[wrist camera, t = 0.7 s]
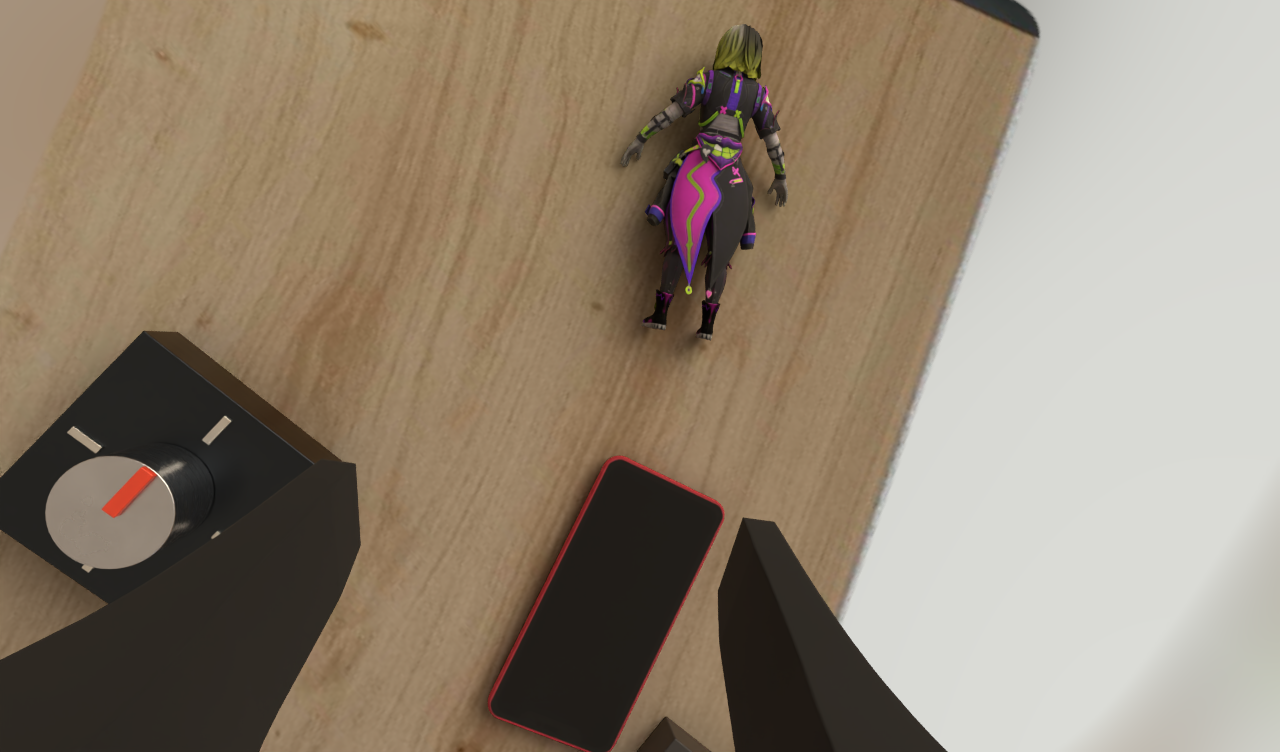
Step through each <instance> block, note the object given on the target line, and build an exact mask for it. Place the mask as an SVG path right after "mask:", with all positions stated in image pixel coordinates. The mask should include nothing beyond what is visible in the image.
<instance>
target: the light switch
mask: <svg viewBox="0 0 1280 752" xmlns="http://www.w3.org/2000/svg"><path fill="white" fill-rule="evenodd" d="M637 752H711V751H710V750H708V749H707V748H706V747H705V746H703V745H702V744H701V743H699V742H698V741H697V740H696V739H694V738H693V737H692V736H691V735H689V734H688V733H687V732H685V731H684V730H683V729H682V728H680V727H679V726H678V725H677V724H675V723H674V722H673V721H671V720H670V719H669V718H668V717H665V718H664V719H663V721H662V722H661V723H660V724H659V725H658V727H657V728H656V729H655V730H654V732H653V733H652V734H651V735H650V737H649V738H648V739H647V740H646V741H645V743H644V744H643V745H642V746H641V748H640V749H639V750H638V751H637Z"/></svg>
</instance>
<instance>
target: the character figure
mask: <svg viewBox="0 0 1280 752" xmlns="http://www.w3.org/2000/svg"><path fill="white" fill-rule="evenodd" d="M762 48H763V44H762V39H761V37H760V35H759V33H758V32H757V31H755V29H754V28H752V27H750V26H747V25H746V24H742V25H736V26H733V27H731V29H730V30H728V31H727V32H726V33H725V34H724V35H723V37H722V38H721V41H720V42H719V44H718V48H717V51H716V56H715V61H714V64H713V70H710V71H708V72H706V73H703V71H704V68H705V67H704V68H703V69H701V70H700V71H698V72H697V76H696V78H691V79H688V80H687V82H686V83H687V87H686V83H685V84H684V88H683V90H682V91H679V90H678V88H677V94H676V95H675V96H673V97H672V98H671V99H670V100H671V101H672V104H671V105H670V106H669V107H667V108H666V109H664V110H663V111H662V112H660V113H659V114H658V115H656V117H655V116H654V117H655V118H654V117H653V118H654V119H653V118H652V119H651V121H650V122H649V123H648V124H647V125H646V126H645V127H644V128H643V129H642V130H641V131H640V132H639V134H638V135H637V136H636V139H635V140H634V141H633V142H632V143H631V144H630V146H629V147H628V148H627V150H626V152H625V153H624V155H623V157H622V160H621V164H622V166H624V165H625V163H626V165H625V166H626V167H627V166H628V163H629V160H630V158H631V156H632V155H633V154H635V153H637V160H639V159H640V157H641V153H642V151H643V147H644V143H645V142H646V141H647V140H648V139H649V138H650V137H651V136H652V135H654V134H656V133H657V132H659V131H660V130H662V129H664V128H666V127H668V126H669V125H670V124H671V123H672V122H673V121H674V120H676V119H677V118H679V117H681V116H682V117H683V118H685V117H686V116H687V115H688V114H690V113H692V112H693V111H694V110H695V109H694V110H692V111H691V109H693V108H694V107H696V106H697V105H699V104H700V103H701V108H700V120H699V122H698V124H699V126H700V127H701V128H700V133H699V134H698V135H697V136H696V138H695V139H694V140H693V141H692V145H691V147H690V149H688V150H686V151H684V150H681V151H680V152H679V153H678V154H677V155H676V156H675V157H674V158H673V159H672V160H671V161H670V164H669V165H668V166H667V167H666V168H665V170H664V179H666V180H667V181H666V184H665V186H664V187H663V188H662V189H661V191H660V192H659V193H658V195H657V197H656V199H655V201H654V203H653V205H652V206H650V204H649V205H648V207H647V209H646V211H645V213H646V214H647V215H648V217H647V221H648V222H649V223H650V224H651V225H653V226H656V225H658V224H659V223H660V222H661V221H662V219H664V226H665V232H666V246H665V248H664V249H663V250H662V251H660V252H661V253H660V254H662V253H663V252H665V254H664V257H665V256H666V257H665V259H664V262H663V268H662V278H661V287H660V290H658V289H657V290H656V303H655V307H654V308H655V311H654V313H653V315H651V316H649V317H647V318H645V319H644V320H643V323H642V325H641V326H645V327H649V328H654V329H661V330H665V329H666V316H667V311H668V308H669V305H670V303H671V300H672V298H673V297H674V294H673V292H674V290H675V287H676V285H677V283H678V280H679V278H680V275H681V272H682V269H683V267H684V270H685V273H686V276H687V280H688V283H689V284H688V285H690V286H691V284H690V282H691V278H692V275H693V271H694V268H695V264H696V260H697V257H698V253H699V250H700V246H701V242H702V239H703V235H704V231H705V234H706V239H707V246H708V253H707V255H706V257H705V259H704V260H703V262H702V265H703V264H704V263H705V264H706V265H705V267H706V266H707V271H706V275H705V288H706V300H703V301H702V325H701V328H700V329H698V331H697V333H696V338H701V339H706V340H711V339H712V333H713V324H714V320H715V317H716V313H717V311H718V309H719V306H720V304H718V301H719V299H720V296H721V294H722V292H723V289H724V286H725V282H726V275H727V271H726V270H727V266H729V267H730V268H731V265H730V263H729V261H730V259H731V257H732V256H733V254H734V252H735V250H736V248H737V246H738V244H739V242H740V246H741V250H747V249H753V246H754V241H755V236H756V233H755V222H754V216H753V210H754V208H753V205H754V203H755V199H754V198H753V197H752V193H753V186H752V183H751V181H750V179H749V177H748V175H747V172H746V171H745V169H744V167H743V165H742V162H741V158H740V154H741V152H742V145H741V143H740V141H741V138H743V137H744V131H745V129H746V126H747V123H748V121H749V119H750V118H751V117H752V119H753V121H754V124H755V126H756V127H755V128H756V130H757V133H758V135H759V137H760V139H764V141H765V143H766V147H767V152H768V155H769V157H770V159H771V161H772V164H773V167H774V171H775V179H774V181H773V183H772V185H771V187H770V189H769V191H768V194H771V193H772V191H773V189H775V190H776V192H777V197H776V202H775V205H776V206H777V204H778V201H779V198H780V202H779V207H781V206H782V201H783V206H785V203H786V202H787V198H788V190H787V184H786V175H785V168H784V152H783V151H782V149H781V146H780V141H779V138H778V136H777V134H776V131H777V130H778V131H779V130H780V127H779V125H778V123H777V120H776V118H777V115H778V113H779V110H778V112H777V113H776V115H775V116H774V115H773V113H772V106H771V104H770V103H769V100H768V89H767V87H766V86H765V88H764V87H763V88H762V87H761V85H760V84H759V83H757V82H756V79H757V77H758V79H760V77H761V58H762ZM688 85H689V86H688ZM686 153H687V156H686V158H685V154H686ZM702 265H701V266H702ZM731 269H732V268H731ZM690 286H687V287H686V289H685V292H686V293H687V294H690V293H691V292H692V288H691V287H690Z"/></svg>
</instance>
